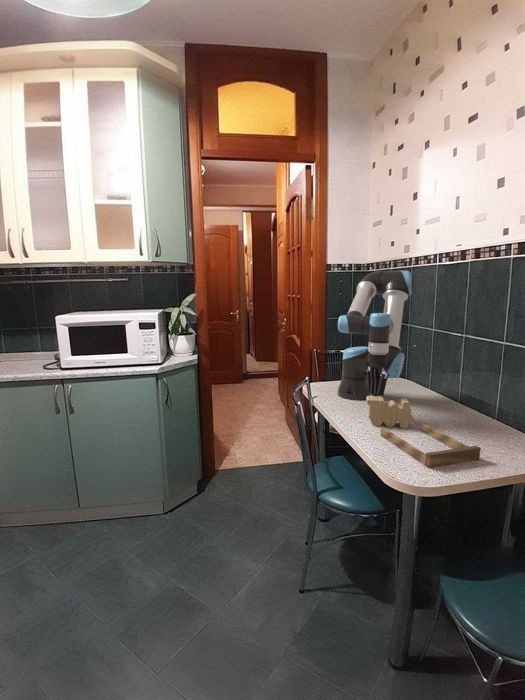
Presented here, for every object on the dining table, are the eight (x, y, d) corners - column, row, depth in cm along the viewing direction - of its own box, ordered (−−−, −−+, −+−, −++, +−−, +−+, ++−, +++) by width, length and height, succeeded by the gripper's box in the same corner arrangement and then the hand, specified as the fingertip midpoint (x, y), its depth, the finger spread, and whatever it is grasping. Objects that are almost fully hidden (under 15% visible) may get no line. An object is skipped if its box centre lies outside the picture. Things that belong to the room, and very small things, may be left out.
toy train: (414, 429, 127) (416, 403, 125) (365, 425, 131) (367, 399, 129) (411, 423, 132) (413, 398, 131) (364, 419, 136) (366, 395, 134)
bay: (380, 435, 122) (380, 424, 121) (423, 429, 126) (424, 419, 126) (428, 468, 99) (429, 455, 99) (479, 460, 104) (480, 447, 103)
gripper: (360, 350, 141) (357, 406, 145) (379, 356, 129) (375, 417, 133) (376, 349, 143) (373, 405, 147) (396, 355, 131) (392, 415, 135)
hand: (374, 410), depth 140 cm, fingers closed
